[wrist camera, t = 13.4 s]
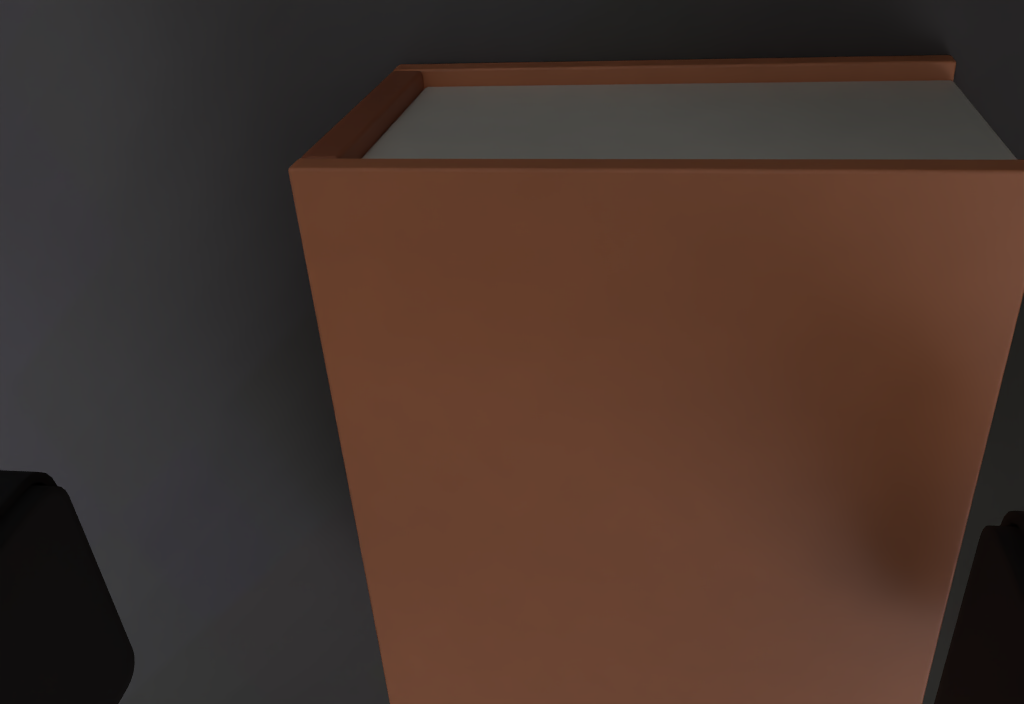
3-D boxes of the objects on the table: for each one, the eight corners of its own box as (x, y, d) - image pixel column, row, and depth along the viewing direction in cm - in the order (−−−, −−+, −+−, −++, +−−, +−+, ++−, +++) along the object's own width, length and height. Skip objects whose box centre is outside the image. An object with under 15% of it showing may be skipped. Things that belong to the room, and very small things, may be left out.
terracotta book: (398, 63, 12) (285, 167, 9) (951, 53, 11) (1055, 170, 8) (465, 620, 17) (410, 814, 14) (845, 656, 16) (879, 877, 13)
